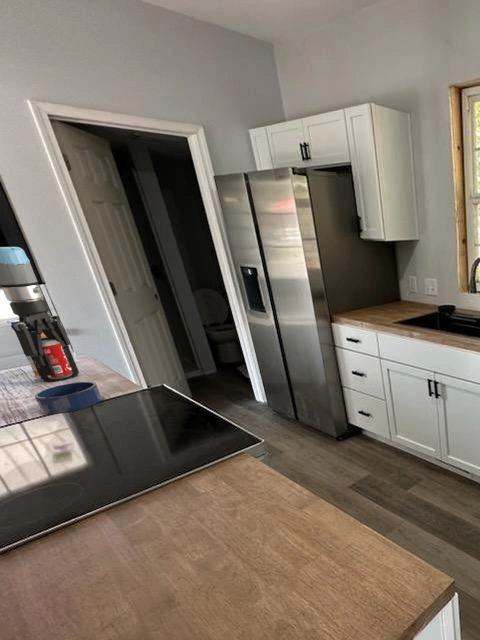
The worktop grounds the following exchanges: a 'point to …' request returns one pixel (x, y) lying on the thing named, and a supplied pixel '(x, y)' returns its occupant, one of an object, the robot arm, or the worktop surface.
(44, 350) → the beverage can
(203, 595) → the worktop surface
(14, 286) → the robot arm
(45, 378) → the coffee jar
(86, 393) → the blue bowl
